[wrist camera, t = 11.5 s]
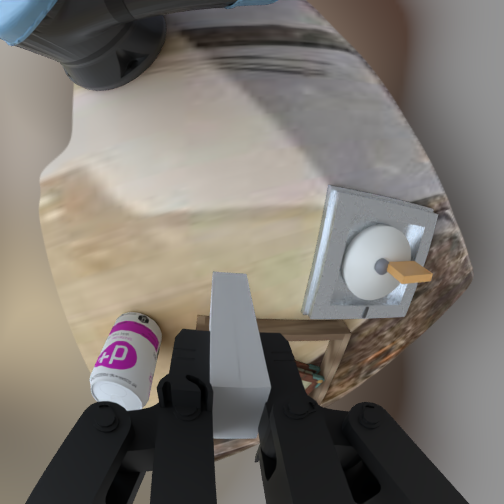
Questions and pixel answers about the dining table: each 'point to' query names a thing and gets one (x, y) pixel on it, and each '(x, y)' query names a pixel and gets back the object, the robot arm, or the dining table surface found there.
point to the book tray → (307, 332)
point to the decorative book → (309, 376)
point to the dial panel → (338, 239)
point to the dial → (380, 263)
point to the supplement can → (127, 362)
